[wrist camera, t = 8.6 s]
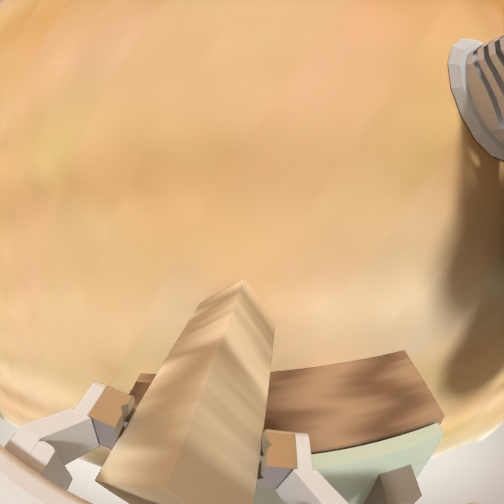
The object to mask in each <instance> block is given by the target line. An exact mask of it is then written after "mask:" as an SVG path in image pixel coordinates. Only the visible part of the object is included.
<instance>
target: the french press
mask: <svg viewBox="0 0 504 504" xmlns="http://www.w3.org/2000/svg"><path fill="white" fill-rule="evenodd" d="M448 68H449V76H450V84H451V89H452V92H453V94H454V97H455V100H456V103H457V105H458V108H459V111H460V114H461V116H462V118H463V120H464V121H465V123H466V124H467V126H468V128H469V130H470V131H471V133H472V135H473V137H474V138H475V140H476V141H477V142H478V143H479V144H480V145H481V146H482V147H483V148H484V149H485V150H486V151H487V152H488V153H489V154H490V155H491V156H493V157H496V158H498V159H501V160H503V161H504V36H502V37H499V38H497V39H495V40H492V41H490V42H488V43H486V44H484V43H482V42H480V41H478V40H476V39H465V38H462V39H461V40H459V41H458V42H457V43H456V44H454V45H453V46H452V48H451V52H450V57H449V61H448Z"/></svg>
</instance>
